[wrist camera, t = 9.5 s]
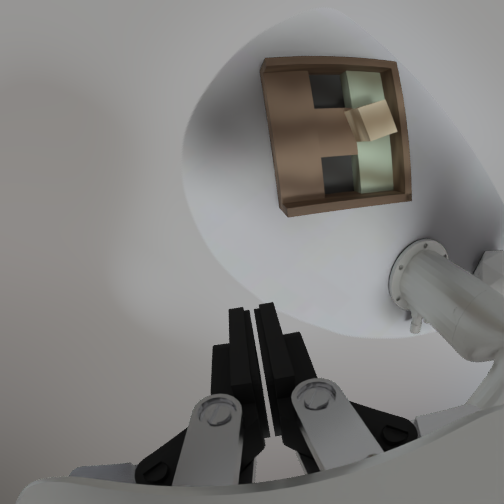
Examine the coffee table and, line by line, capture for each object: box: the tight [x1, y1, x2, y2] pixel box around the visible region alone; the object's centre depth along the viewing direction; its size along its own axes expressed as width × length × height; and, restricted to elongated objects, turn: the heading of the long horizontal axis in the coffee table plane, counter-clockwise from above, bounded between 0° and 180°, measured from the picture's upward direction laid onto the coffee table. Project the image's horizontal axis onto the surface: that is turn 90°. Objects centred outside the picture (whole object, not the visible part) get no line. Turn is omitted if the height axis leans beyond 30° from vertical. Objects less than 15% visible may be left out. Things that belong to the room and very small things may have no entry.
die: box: [473, 250, 504, 295], centre depth 40 cm, size 8×9×10 cm
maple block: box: [344, 100, 397, 142], centre depth 29 cm, size 4×4×4 cm
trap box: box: [260, 56, 412, 217], centre depth 31 cm, size 18×16×6 cm
